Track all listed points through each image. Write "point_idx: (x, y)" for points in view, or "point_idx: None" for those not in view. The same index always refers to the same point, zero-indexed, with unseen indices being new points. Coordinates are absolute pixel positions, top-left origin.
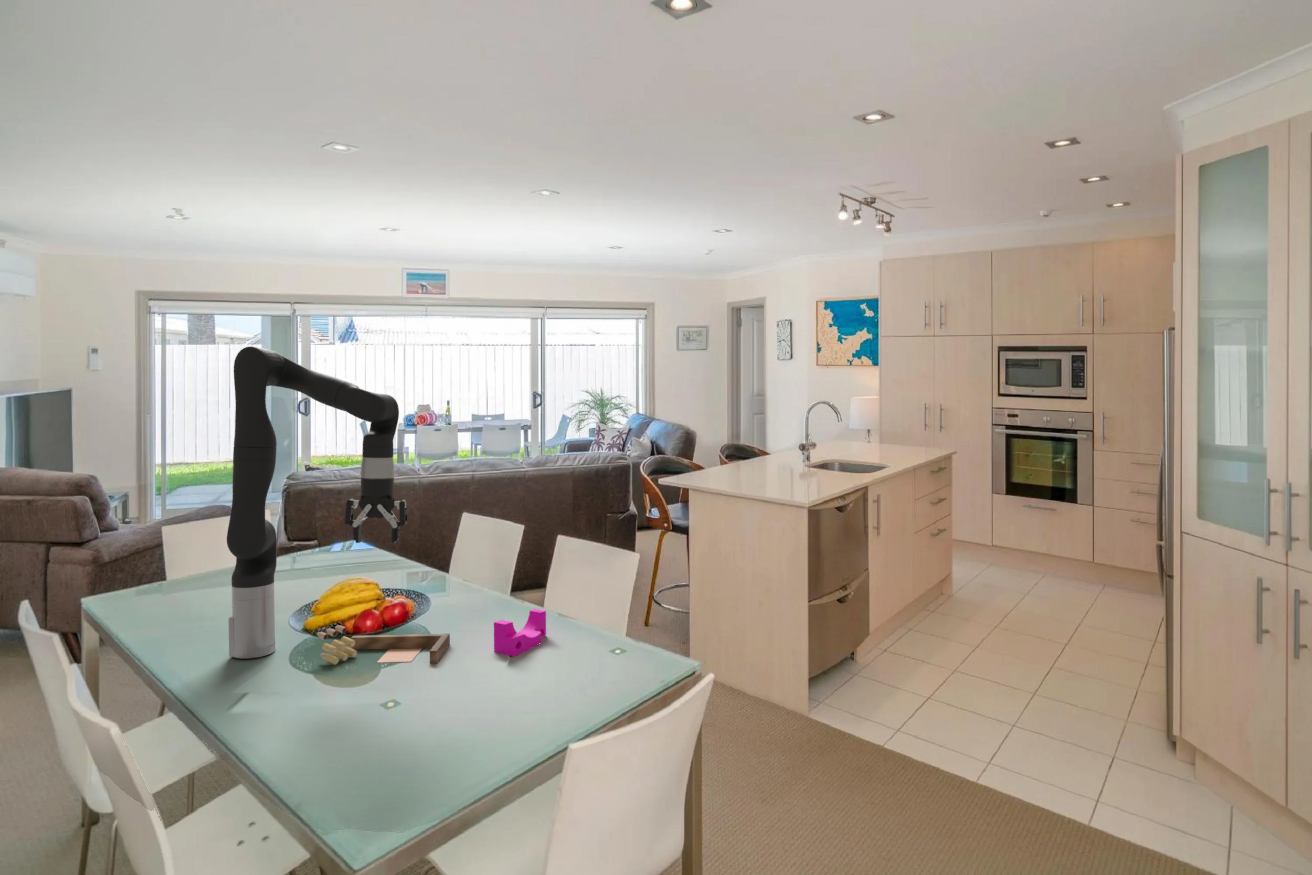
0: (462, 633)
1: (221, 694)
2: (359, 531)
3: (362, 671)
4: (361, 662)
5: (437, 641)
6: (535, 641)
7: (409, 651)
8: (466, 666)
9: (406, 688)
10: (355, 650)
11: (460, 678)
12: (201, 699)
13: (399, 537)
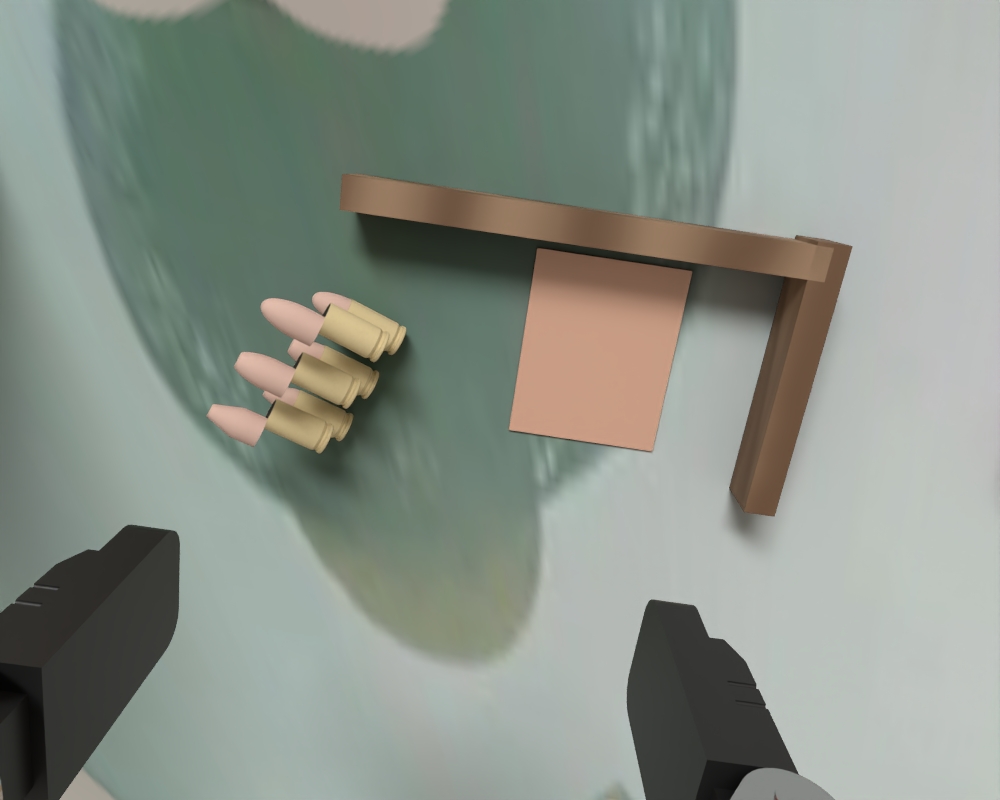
0: (914, 16)
1: None
2: (91, 715)
3: (472, 520)
4: (445, 410)
5: (782, 377)
6: None
7: (635, 307)
8: (872, 552)
9: None
10: (398, 340)
11: (837, 668)
12: None
13: (747, 669)
